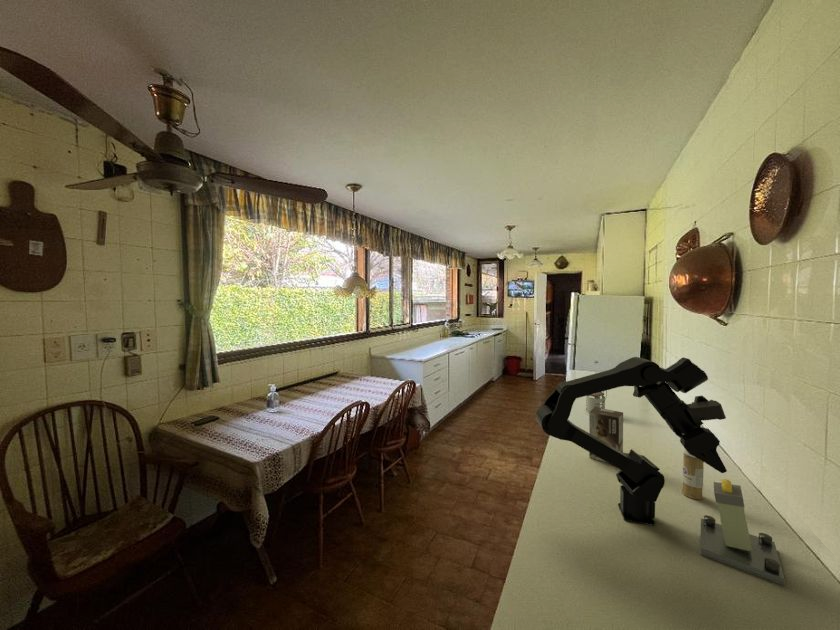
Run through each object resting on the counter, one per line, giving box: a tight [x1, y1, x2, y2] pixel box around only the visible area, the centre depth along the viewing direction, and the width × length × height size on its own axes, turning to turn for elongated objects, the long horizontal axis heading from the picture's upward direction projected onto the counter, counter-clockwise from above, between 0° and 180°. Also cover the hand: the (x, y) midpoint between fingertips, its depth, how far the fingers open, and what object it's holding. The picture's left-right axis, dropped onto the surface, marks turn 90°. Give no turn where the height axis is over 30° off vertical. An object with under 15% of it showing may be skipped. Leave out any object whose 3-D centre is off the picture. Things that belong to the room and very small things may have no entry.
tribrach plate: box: [700, 514, 785, 587], centre depth 70 cm, size 12×12×3 cm
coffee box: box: [588, 407, 624, 464], centre depth 111 cm, size 9×6×16 cm
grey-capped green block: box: [713, 478, 752, 552], centre depth 70 cm, size 4×5×12 cm
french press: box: [584, 360, 608, 414], centre depth 153 cm, size 10×12×25 cm
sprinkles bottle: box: [681, 446, 705, 500], centre depth 90 cm, size 5×5×14 cm
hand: (717, 463), depth 75 cm, fingers open, 9 cm apart
